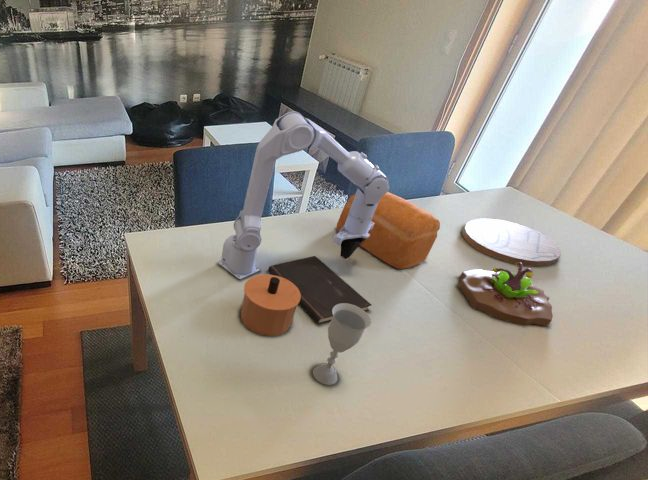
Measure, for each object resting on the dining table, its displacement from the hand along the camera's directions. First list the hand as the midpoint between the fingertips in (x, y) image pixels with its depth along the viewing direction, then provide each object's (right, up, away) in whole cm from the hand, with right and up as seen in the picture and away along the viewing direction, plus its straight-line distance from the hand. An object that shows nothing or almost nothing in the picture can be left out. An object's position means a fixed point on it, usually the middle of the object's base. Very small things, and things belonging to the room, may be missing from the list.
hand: (344, 256), depth 113 cm
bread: (+18, +5, +14) cm, 23 cm away
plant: (+39, -12, -6) cm, 42 cm away
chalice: (-17, -28, -26) cm, 42 cm away
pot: (-26, -16, -12) cm, 33 cm away
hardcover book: (-10, -10, -3) cm, 14 cm away
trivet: (+60, +5, +15) cm, 62 cm away
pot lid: (-26, -10, -17) cm, 33 cm away
